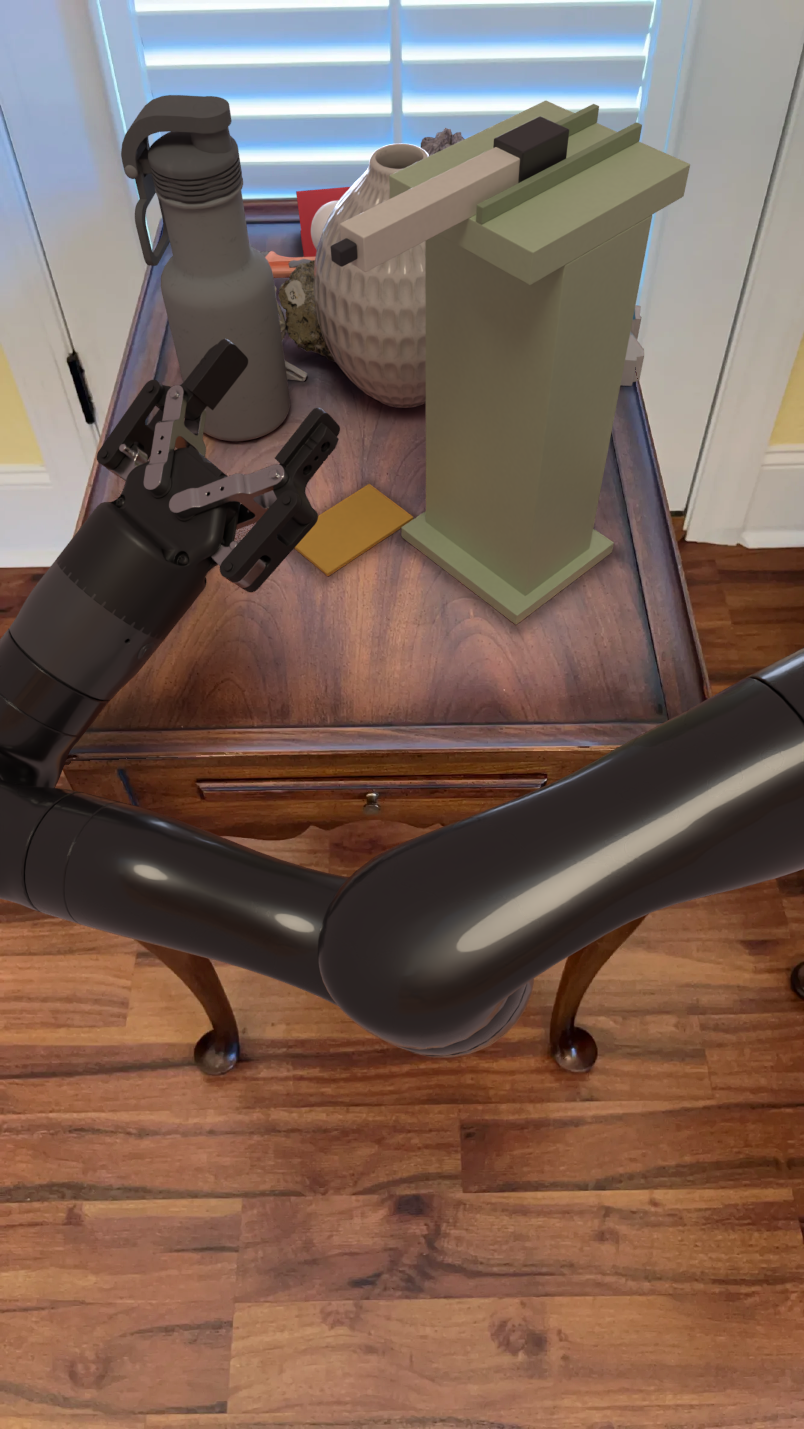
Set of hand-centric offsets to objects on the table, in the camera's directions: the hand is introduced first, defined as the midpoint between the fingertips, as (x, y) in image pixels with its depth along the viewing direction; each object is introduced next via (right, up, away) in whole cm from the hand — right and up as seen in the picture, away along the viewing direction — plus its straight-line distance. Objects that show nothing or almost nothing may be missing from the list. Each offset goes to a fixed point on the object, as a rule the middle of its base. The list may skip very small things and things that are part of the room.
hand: (282, 381), depth 56 cm
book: (+2, +31, +55) cm, 63 cm away
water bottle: (-9, +11, +41) cm, 44 cm away
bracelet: (-8, +20, +47) cm, 52 cm away
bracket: (-9, +15, +45) cm, 48 cm away
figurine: (-1, +26, +40) cm, 47 cm away
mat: (+2, -3, +32) cm, 32 cm away
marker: (+10, +10, +1) cm, 14 cm away
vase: (+7, +14, +43) cm, 46 cm away
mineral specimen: (+10, +42, +46) cm, 63 cm away
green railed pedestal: (+16, -4, +30) cm, 34 cm away
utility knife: (-11, +30, +50) cm, 59 cm away
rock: (+1, +18, +46) cm, 50 cm away
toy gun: (+23, +15, +42) cm, 50 cm away
